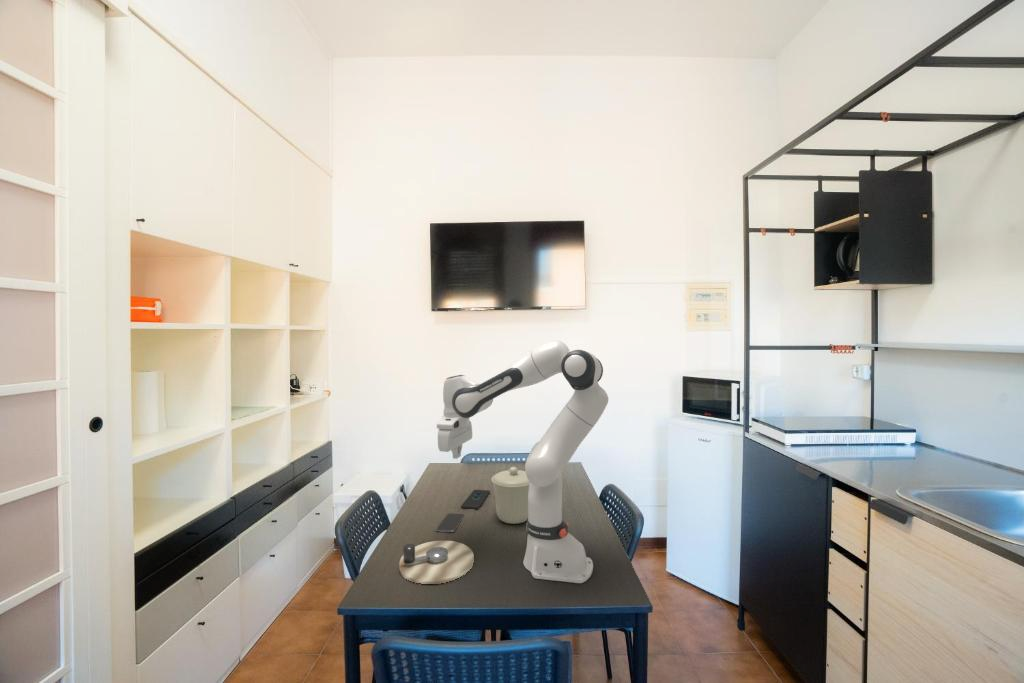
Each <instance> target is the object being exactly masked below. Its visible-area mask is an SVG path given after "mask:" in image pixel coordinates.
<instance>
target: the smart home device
mask: <svg viewBox="0 0 1024 683" xmlns="http://www.w3.org/2000/svg"><path fill="white" fill-rule="evenodd" d="M490 494H491V490H488V489H487V490H486V489H473V491H472V492H471V493H470V494H469V495H468V497H467V498H466V499H465V501H463V502H462V504H461V506H460V507H461V508H463V509H462V510H468V509H475V510H474V511H479V510H480V509H481V508H482V506H483V505H484V503H485V502H484V501H486V500H487V499H486V498H488V497H489V496H490ZM488 495H489V496H488ZM461 508H460V509H461ZM479 508H480V509H479ZM478 509H479V510H478Z"/></svg>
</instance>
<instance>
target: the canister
mask: <svg viewBox="0 0 1024 683" xmlns="http://www.w3.org/2000/svg"><path fill="white" fill-rule="evenodd" d="M490 480H491V483H492V484H493V494H494V504H495V509H496V515H497V517H498V520H499V521H501V522H503V523H504V524H511V525H517V524H522V523H525V522H527V519H528V492H529V480H528V478H527V476H526V471H525V470H521V469H520V470H519V469H518V468H517V467H516V466H511V467H510V468H509V469H508V470H502V471H499V472H497V473H495V474H494V475H493V476H492V477H491V479H490Z"/></svg>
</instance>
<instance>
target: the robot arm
mask: <svg viewBox="0 0 1024 683" xmlns="http://www.w3.org/2000/svg"><path fill="white" fill-rule="evenodd" d="M603 373H604V367H603V365H602V362H601V361H600V359H598V358H597V357H596V356H595V355H594V354H593V353H592V352H589V351H586V350H582V349H574V350H571V351H570V349H569V347H568V346H567V345H566V343H564V342H563V341H561V340H552V341H549V342H547V343H544V344H542V345H539V346H537V347H535V348H533V349H532V350H529V351H528V352H526V353H525V354H524V355H522V356H520V357H519V358H518V359H516V360H515V361H514V362H513V363H511V364H510V365H509V366H507V367H506V368H505V369H504V370H502V371H501V372H500V373H498V374H497V375H494V376H493V377H491V378H489V379H487V380H486V381H483V382H482V383H479V382H476V381H473V380H472V379H470V378H468V377H467V376H466V375H464V374H458V375H453V376H449V377H447V378H446V379H445V380H444V382H443V389H442V392H443V393H442V396H443V397H442V398H443V404H444V408H443V416H441V418H440V419H439V421H438V422H437V423H436V429H438V431H437V447H438V450H439V451H440V452H442V453H443V452H444V453H448V452H450V451H451V453H452V458H453V460H454V459H455V460H457V459H459V458H460V457H461V455H462V449H463V444H465V443H467V442H469V441H470V440H472V439H473V425H472V422H471V420H470V418H472V417H474V416H475V415H476V414H479V413H481V412H483V411H484V410H487V409H489V407H491V406H492V404H493V402H494V399H495V398H497V397H500V395H503V394H505V393H507V392H509V391H513V390H517V389H521V388H525V387H530V386H533V385H536V384H539V383H541V382H544V381H545V380H548V379H549V378H551V377H553V376H555V375H558V374H562V375H563V376H564V378H565V380H566V381H567V382H568V383H569V385H570V386H571V388H572V389H573V390H574V391H573V394H572V395H571V397H570V398H569V400H568V402H566V404H565V406H563V408H562V409H561V411H560V412H559V413H558V414H557V416H556V417H555V419H554V420H553V421H552V422H551V424H550V425H549V427H548V428H547V430H546V431H545V433H544V434H543V435H542V437H541V438H540V439H539V440H538V442H535V444H534V445H533V446H532V448H531V450H530V452H529V454H528V456H527V458H526V460H525V464H524V465H525V466H524V467H525V468H524V471H526V476H527V478H528V480H529V492H528V519H527V520H526V536H527V538H526V540H527V543H526V548H525V554H524V558H523V561H522V562H523V563H522V564H523V567H524V568H525V569H526V570H528V571H529V572H530V574H531V576H532V577H533V578H534V579H538V580H547V581H553V582H554V581H556V582H563V583H564V582H566V583H574V584H583V583H585V582H587V581H588V580H589V578H591V576H592V574H593V571H594V563H593V560H592V559H591V557H588V556H587V553H586V550H585V546H584V545H583V544H582V542H580V541H579V540H578V539H576V538H575V537H574V536H573V535H572V534H571V533H570V532H569V521H566V522H567V523H566V522H565V521H564V520H563V471H564V469H565V468H566V466H567V464H568V463H569V462H570V461H571V459H572V458H573V456H574V455H575V452H576V451H577V449H578V448H579V447H580V445H581V444H582V442H583V441H584V440H585V439H586V437H587V436H588V434H589V433H590V432H591V431H592V429H594V427H595V425H596V424H597V422H598V421H599V420H600V418H601V417H602V415H603V414H604V411H605V410H606V408H607V405H608V403H609V396H608V393H607V391H606V390H605V389H604V388H603V387H602V386H601V385H600V384H599V382H600V381H601V379H602V377H603Z"/></svg>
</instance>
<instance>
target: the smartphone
mask: <svg viewBox="0 0 1024 683" xmlns="http://www.w3.org/2000/svg"><path fill="white" fill-rule="evenodd" d="M463 516H464V517H465V514H464V513H453V512H452V513H450V512H449V513H447V514H446V515H445V516H444V518H443V519H442V520H441V522H440V523H439V524H438V526H437V527H436V529H435V532H436V531H439V532H438V533H449V532H451V533H452V532H453V533H454V532H455V531H456V529H457V528H458V526H459V525H460V523H461V522H460V521H462V520H463V519H464V517H463ZM451 533H450V534H451Z"/></svg>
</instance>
